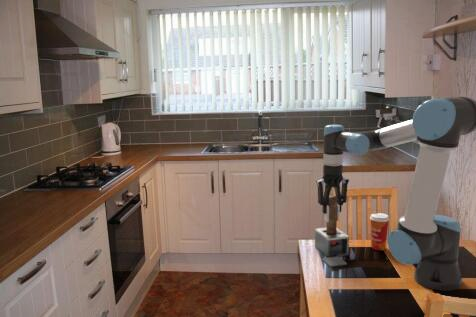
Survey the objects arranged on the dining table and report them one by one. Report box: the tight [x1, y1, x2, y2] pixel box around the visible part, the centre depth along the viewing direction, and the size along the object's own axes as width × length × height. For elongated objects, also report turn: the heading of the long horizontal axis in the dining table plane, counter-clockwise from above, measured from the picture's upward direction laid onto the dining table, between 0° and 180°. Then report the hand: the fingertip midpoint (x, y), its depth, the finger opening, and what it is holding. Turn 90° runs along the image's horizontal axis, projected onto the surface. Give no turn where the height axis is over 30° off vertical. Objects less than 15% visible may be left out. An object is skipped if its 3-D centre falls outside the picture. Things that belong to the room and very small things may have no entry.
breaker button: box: [330, 240, 337, 246], centre depth 180 cm, size 4×4×3 cm
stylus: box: [325, 194, 338, 236], centre depth 178 cm, size 4×4×17 cm
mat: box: [321, 256, 348, 268], centre depth 170 cm, size 7×7×1 cm
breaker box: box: [314, 227, 350, 258], centre depth 180 cm, size 12×9×8 cm
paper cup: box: [369, 212, 390, 251], centre depth 182 cm, size 8×8×14 cm
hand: (331, 220), depth 178 cm, fingers closed on stylus, 4 cm apart
